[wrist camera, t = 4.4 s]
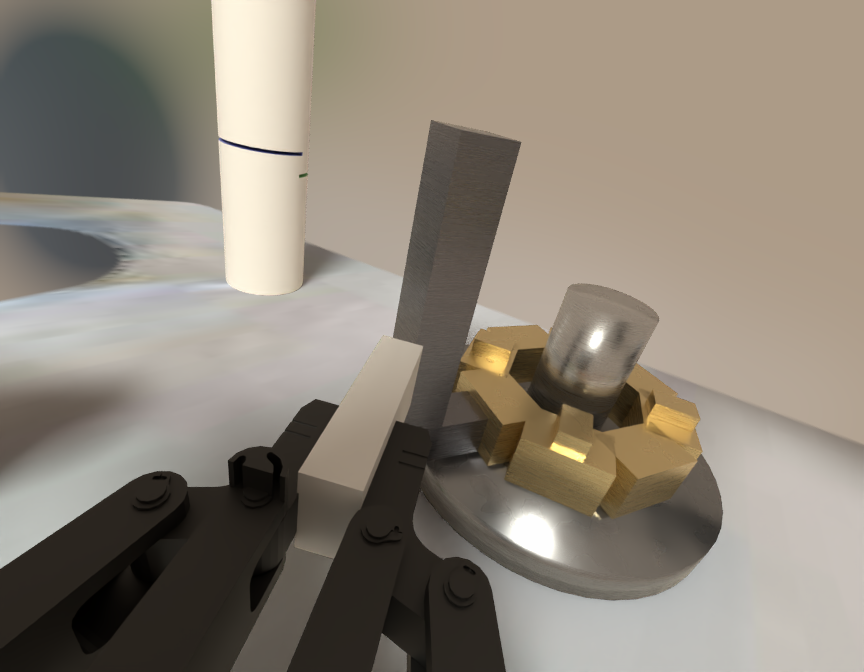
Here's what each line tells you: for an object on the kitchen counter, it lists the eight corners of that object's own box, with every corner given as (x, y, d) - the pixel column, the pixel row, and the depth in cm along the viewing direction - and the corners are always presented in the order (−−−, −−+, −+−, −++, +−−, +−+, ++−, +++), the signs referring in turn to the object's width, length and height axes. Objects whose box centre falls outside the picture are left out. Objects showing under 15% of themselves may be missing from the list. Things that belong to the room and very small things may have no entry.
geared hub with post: (568, 353, 35) (651, 161, 28) (719, 481, 25) (918, 229, 17) (349, 373, 27) (381, 104, 19) (437, 581, 16) (585, 169, 9)
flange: (651, 399, 36) (718, 285, 31) (774, 656, 19) (975, 498, 13) (432, 340, 38) (460, 221, 32) (358, 529, 20) (391, 339, 15)
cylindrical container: (209, 275, 40) (184, -68, 28) (269, 260, 46) (270, -30, 33) (260, 302, 37) (256, -63, 25) (317, 283, 43) (337, -22, 31)
